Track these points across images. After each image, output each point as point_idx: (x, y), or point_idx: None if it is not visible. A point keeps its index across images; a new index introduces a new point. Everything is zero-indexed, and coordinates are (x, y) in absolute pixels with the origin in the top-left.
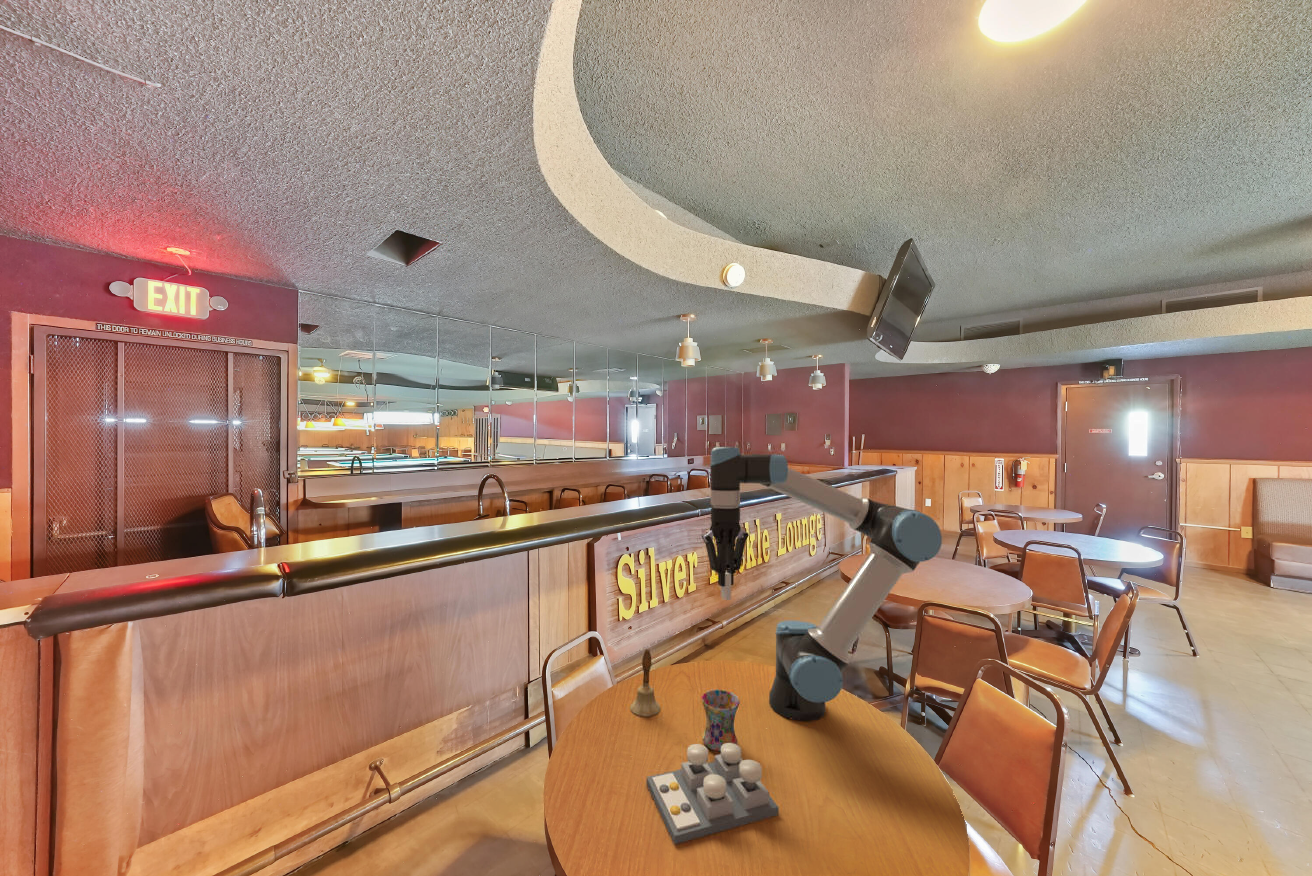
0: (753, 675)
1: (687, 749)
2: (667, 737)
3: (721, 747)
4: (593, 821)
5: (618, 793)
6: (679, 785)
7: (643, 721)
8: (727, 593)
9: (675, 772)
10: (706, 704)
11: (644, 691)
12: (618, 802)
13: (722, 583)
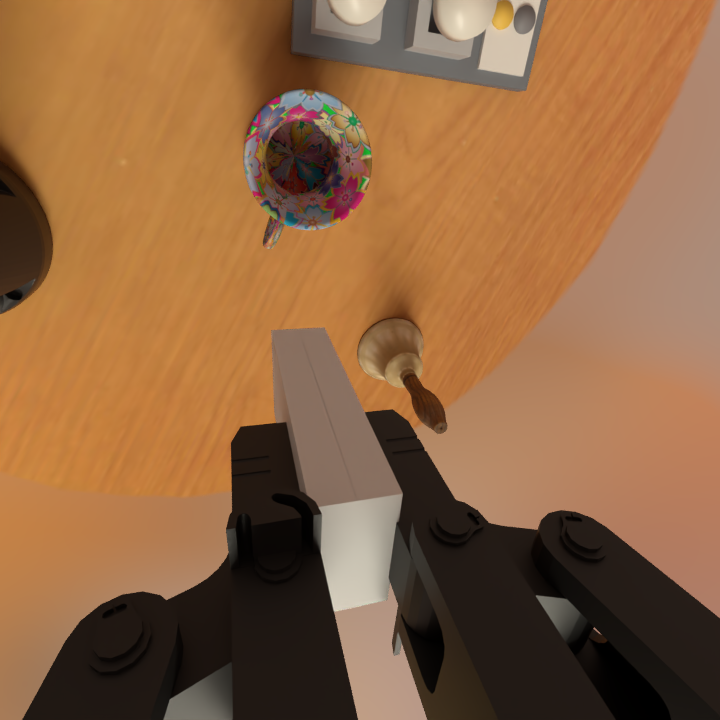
0: (30, 419)
1: (489, 23)
2: (398, 230)
3: (380, 8)
4: (645, 37)
5: (573, 93)
6: None
7: (416, 305)
8: (321, 355)
9: (466, 72)
10: (369, 153)
11: (415, 359)
12: (586, 65)
13: (393, 429)
